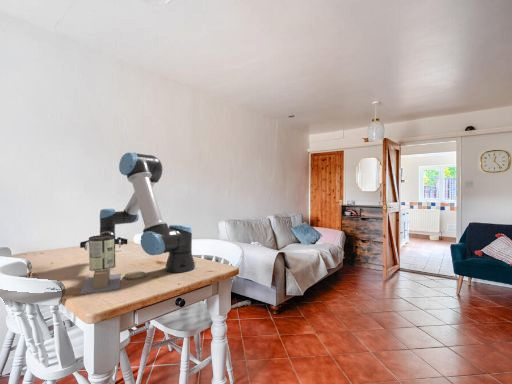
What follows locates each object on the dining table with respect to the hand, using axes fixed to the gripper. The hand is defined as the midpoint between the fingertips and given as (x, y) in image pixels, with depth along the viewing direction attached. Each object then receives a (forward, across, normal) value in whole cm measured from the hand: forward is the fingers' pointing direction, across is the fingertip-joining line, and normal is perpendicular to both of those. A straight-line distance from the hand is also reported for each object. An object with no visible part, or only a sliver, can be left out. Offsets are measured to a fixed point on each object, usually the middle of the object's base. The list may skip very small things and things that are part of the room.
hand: (103, 246), depth 125 cm
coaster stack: (+2, -14, -16) cm, 21 cm away
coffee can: (+7, 0, -9) cm, 11 cm away
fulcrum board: (+7, 0, -16) cm, 17 cm away
